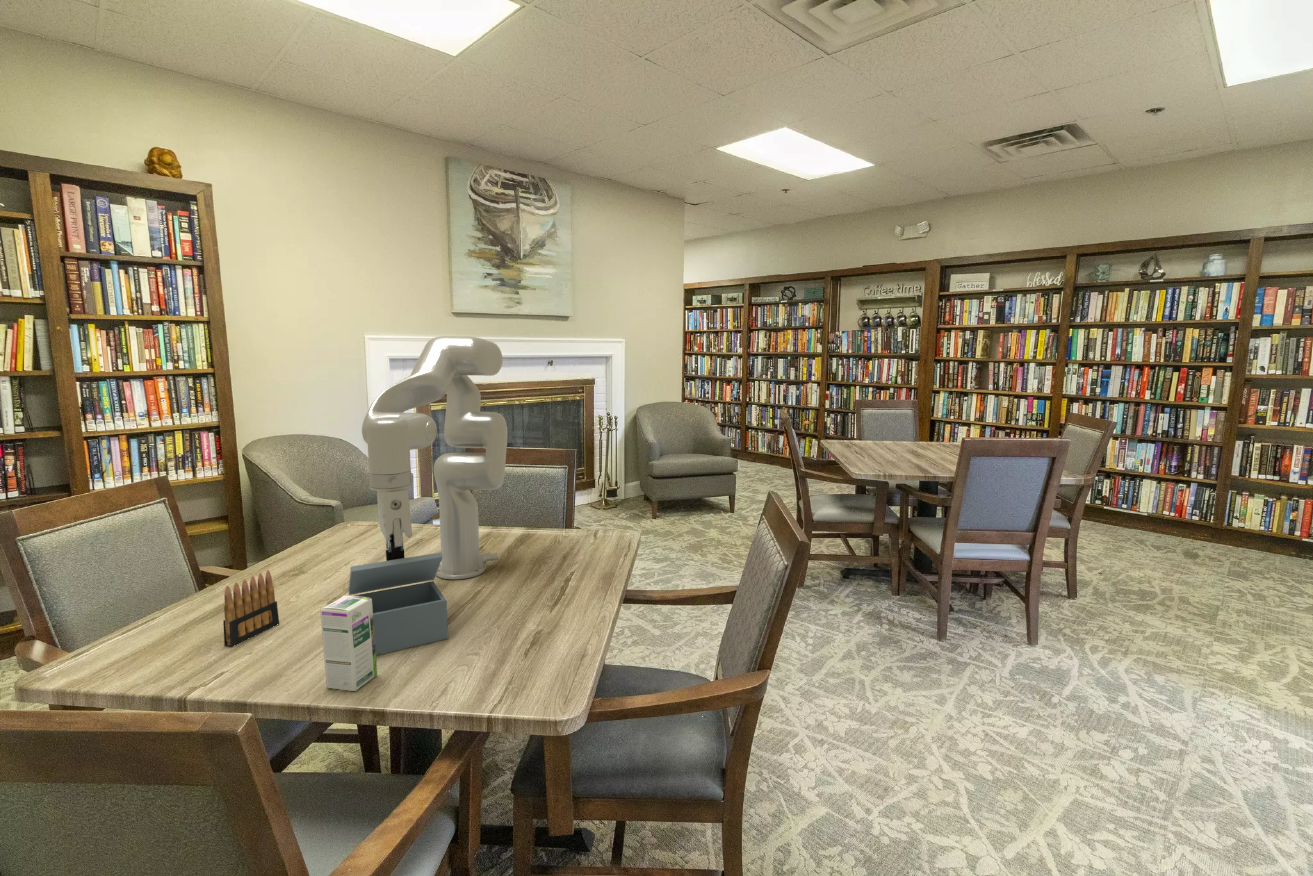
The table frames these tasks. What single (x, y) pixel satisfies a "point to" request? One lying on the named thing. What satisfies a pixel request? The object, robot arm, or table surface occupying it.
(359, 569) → the lid
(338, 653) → the syrup box
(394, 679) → the table surface
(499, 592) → the table surface
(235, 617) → the ammunition clip
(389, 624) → the box
